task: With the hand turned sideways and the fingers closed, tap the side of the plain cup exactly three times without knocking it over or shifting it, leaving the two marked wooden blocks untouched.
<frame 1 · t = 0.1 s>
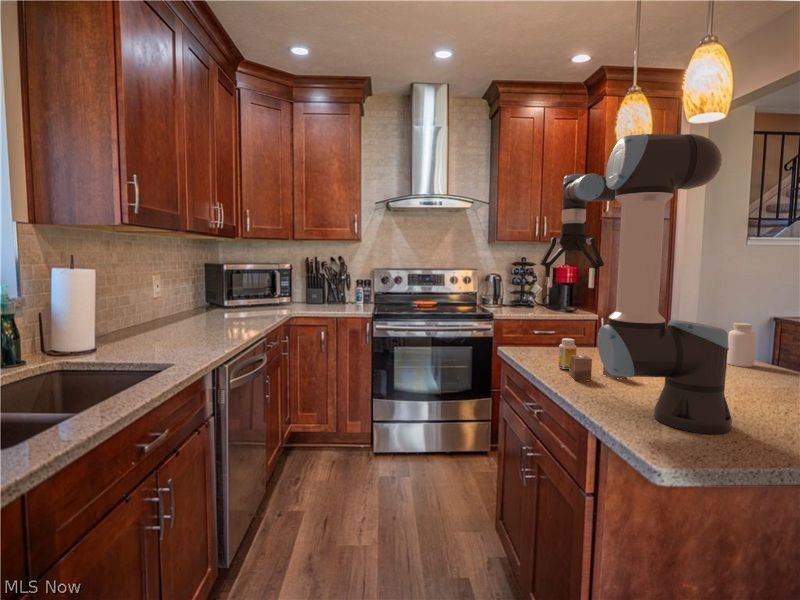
hand: (570, 287, 153), 28 cm above the countertop, tool pointing down, fingers open, 13 cm apart
slate block: (614, 377, 146), on the countertop
walnut block: (579, 379, 144), on the countertop
supplement bottle: (566, 369, 157), on the countertop
pill bottle: (739, 365, 165), on the countertop
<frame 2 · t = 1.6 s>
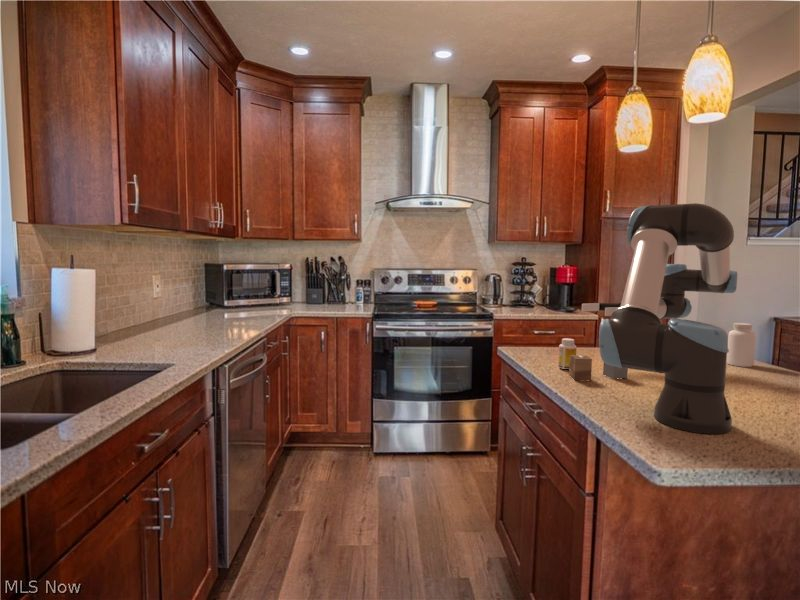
hand: (593, 309, 157), 20 cm above the countertop, tool horizontal, fingers open, 12 cm apart
nothing on the countertop moved.
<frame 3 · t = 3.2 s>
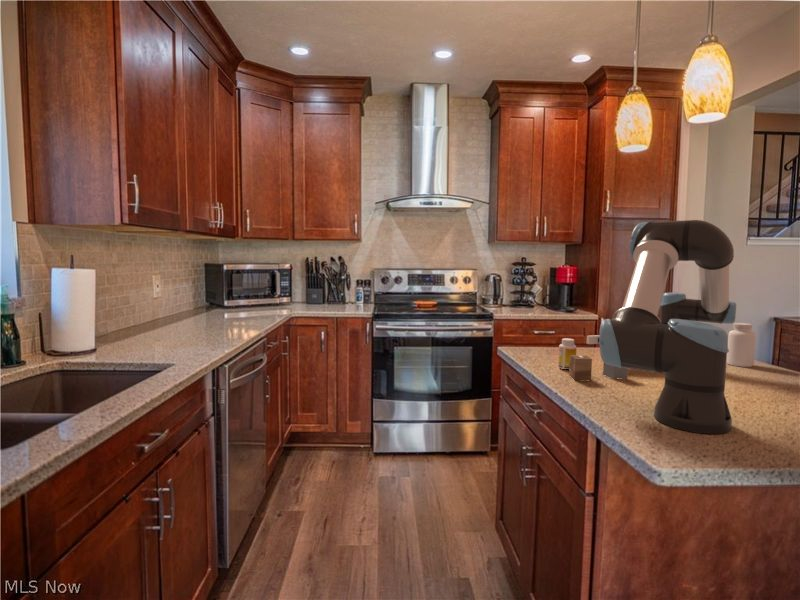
hand: (588, 339, 158), 10 cm above the countertop, tool horizontal, fingers closed
nothing on the countertop moved.
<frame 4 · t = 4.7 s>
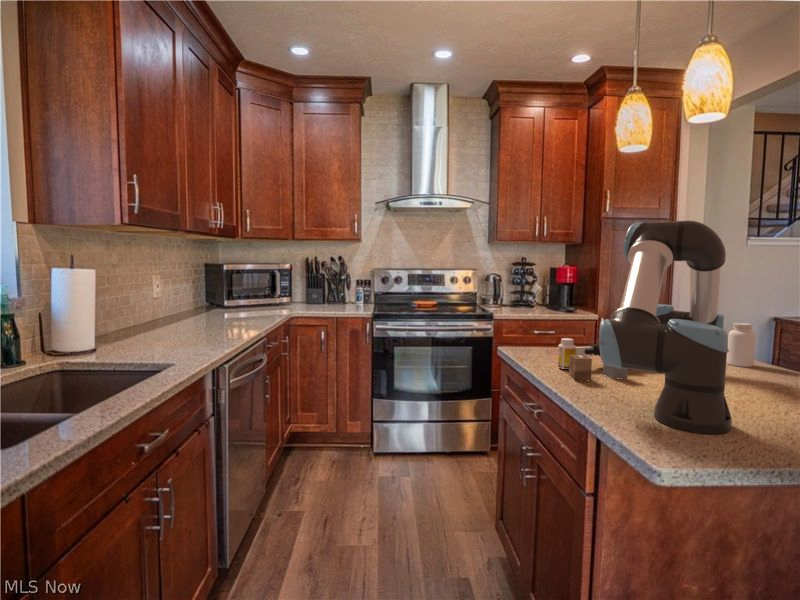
hand: (574, 351, 157), 6 cm above the countertop, tool horizontal, fingers closed
supplement bottle: (566, 369, 157), on the countertop, touching gripper
everything else where it was.
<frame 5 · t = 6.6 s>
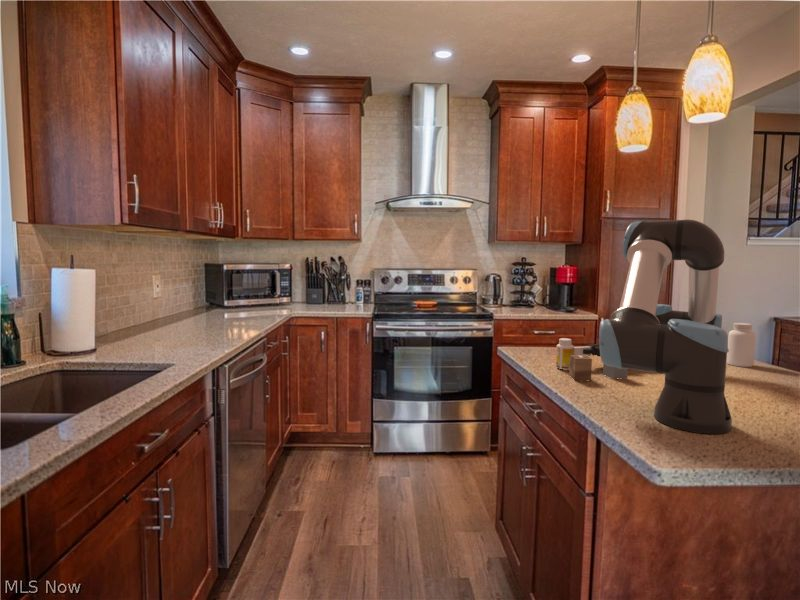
hand: (573, 351, 157), 6 cm above the countertop, tool horizontal, fingers closed
nothing on the countertop moved.
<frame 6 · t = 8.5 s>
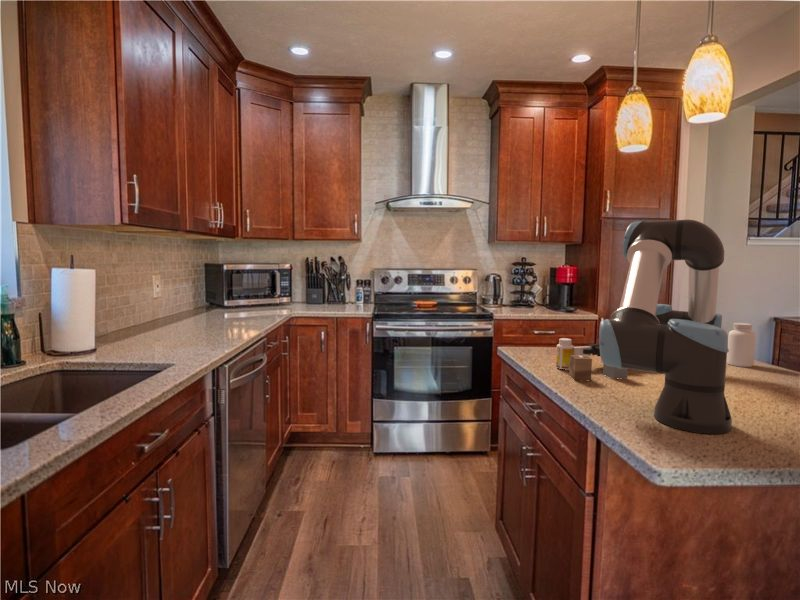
hand: (573, 351, 157), 6 cm above the countertop, tool horizontal, fingers closed
nothing on the countertop moved.
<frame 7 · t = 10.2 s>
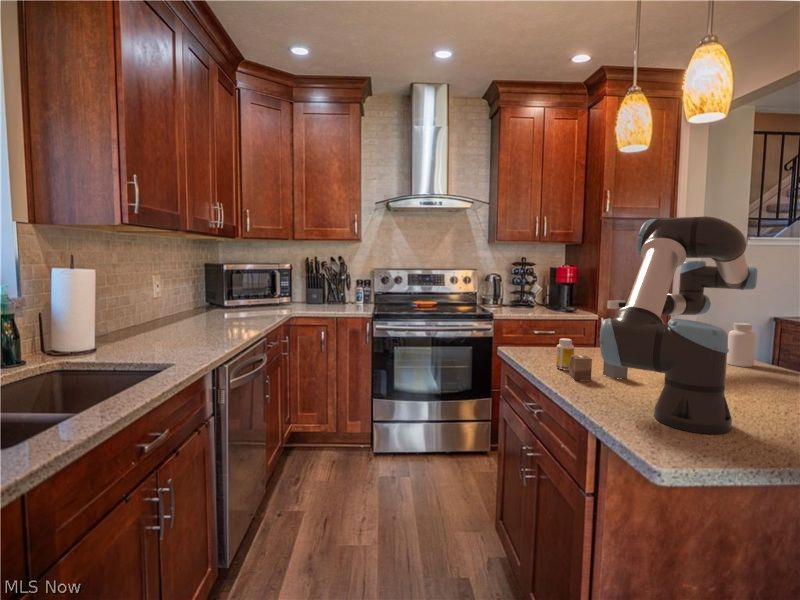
hand: (608, 304, 158), 22 cm above the countertop, tool horizontal, fingers closed
supplement bottle: (564, 369, 156), on the countertop
everything else where it was.
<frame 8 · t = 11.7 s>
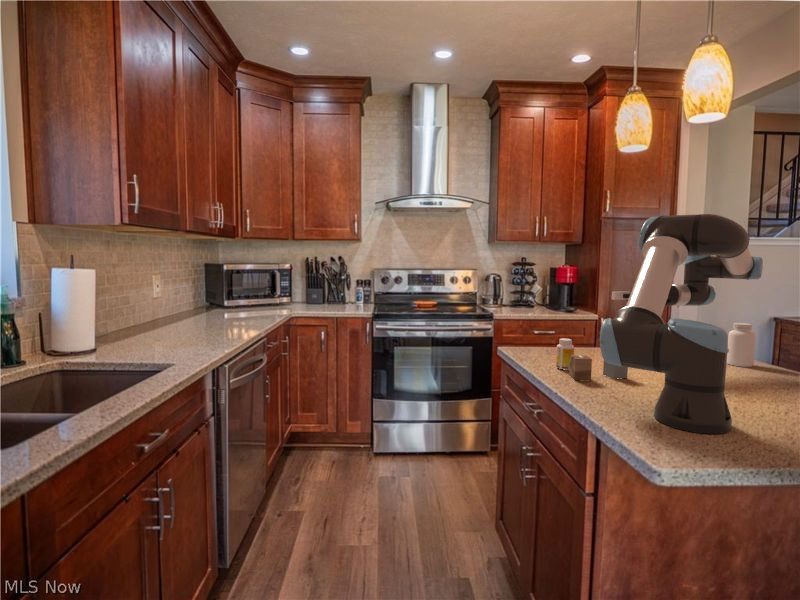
hand: (613, 295, 157), 25 cm above the countertop, tool horizontal, fingers closed
nothing on the countertop moved.
at the end: supplement bottle moved 0.9 cm from its start; supplement bottle tilted 0°; walnut block moved 0.1 cm from its start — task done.
